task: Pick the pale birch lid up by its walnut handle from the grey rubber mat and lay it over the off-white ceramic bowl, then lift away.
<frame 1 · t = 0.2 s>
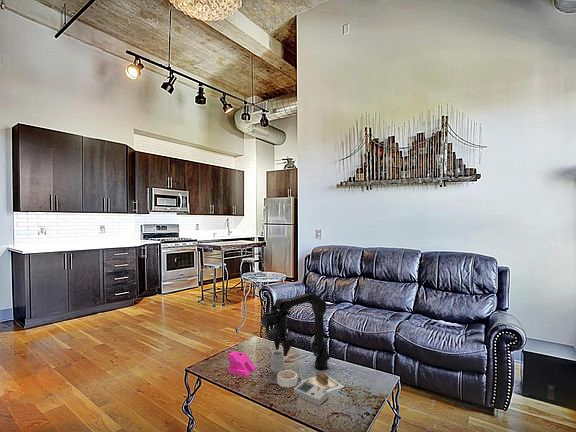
hand: (280, 353, 172), 14 cm above the table, tool pointing down, fingers open, 9 cm apart
lid: (322, 383, 168), point 1 cm above the table, touching mat
bowl: (287, 383, 169), on the table
bracket: (242, 371, 182), on the table
mug: (274, 369, 184), on the table
mat: (322, 384, 168), on the table
handheld gaming device: (311, 397, 156), on the table, touching mat
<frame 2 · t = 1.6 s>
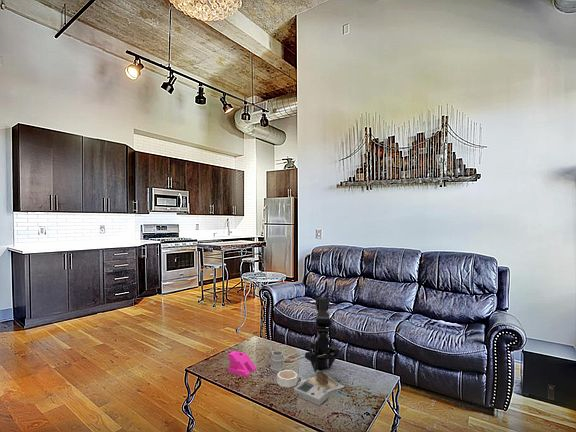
hand: (322, 370, 168), 7 cm above the table, tool pointing down, fingers open, 9 cm apart
nothing on the table moved.
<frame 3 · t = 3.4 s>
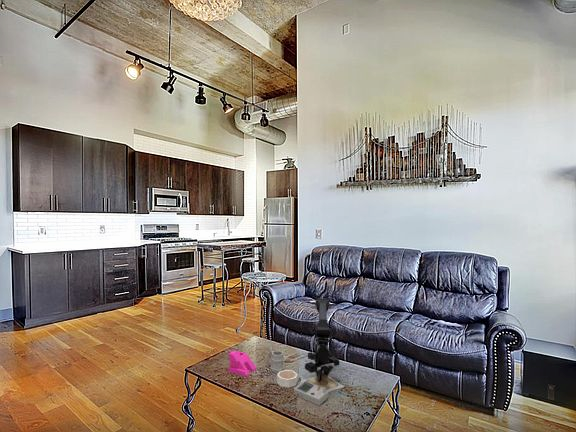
hand: (322, 380, 168), 2 cm above the table, tool pointing down, fingers closed on lid, 3 cm apart
lid: (322, 383, 168), point 1 cm above the table, touching gripper, mat
everything else where it was.
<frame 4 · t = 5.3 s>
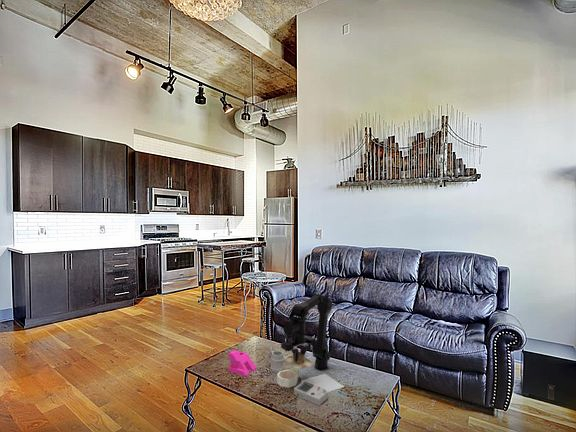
hand: (298, 360, 168), 12 cm above the table, tool pointing down, fingers closed on lid, 3 cm apart
lid: (298, 363, 168), point 11 cm above the table, touching gripper
everything else where it was.
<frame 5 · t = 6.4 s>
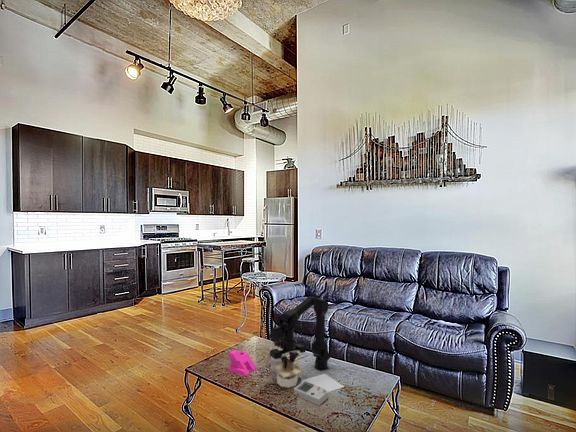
hand: (287, 367, 169), 8 cm above the table, tool pointing down, fingers closed on lid, 3 cm apart
lid: (287, 370, 169), point 7 cm above the table, touching gripper
when the fingers open (7 cm above the table, at t = 7.2 s): lid drops 1 cm, resting on bowl.
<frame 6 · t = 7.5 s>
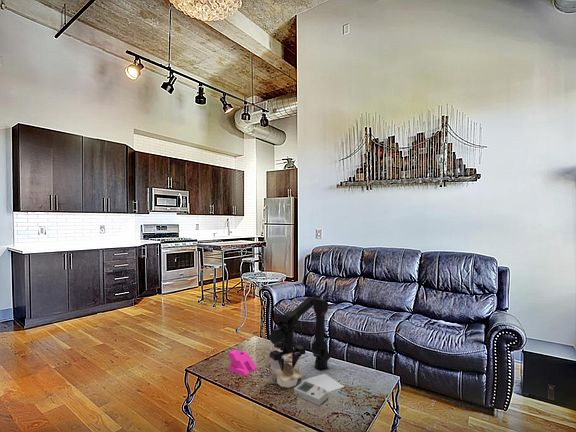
hand: (287, 369, 169), 7 cm above the table, tool pointing down, fingers open, 6 cm apart
lid: (287, 374, 169), point 4 cm above the table, touching bowl
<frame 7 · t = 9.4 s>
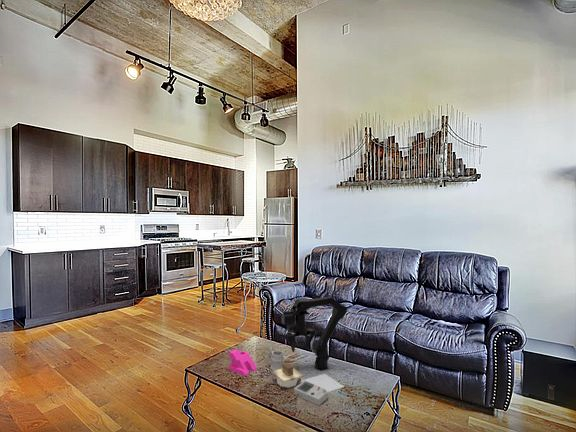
hand: (300, 350, 183), 12 cm above the table, tool pointing down, fingers open, 9 cm apart
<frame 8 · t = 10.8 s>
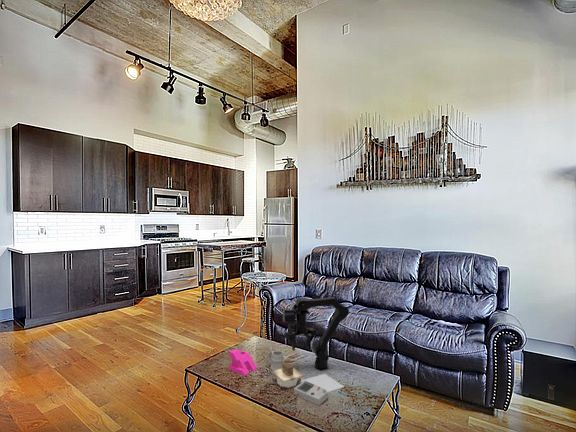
hand: (300, 348, 184), 12 cm above the table, tool pointing down, fingers open, 9 cm apart
at the end: lid 0.1 cm off-centre on the bowl, point 4.5 cm above the bowl's base; lid tilted 0°; the gripper is holding nothing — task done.
